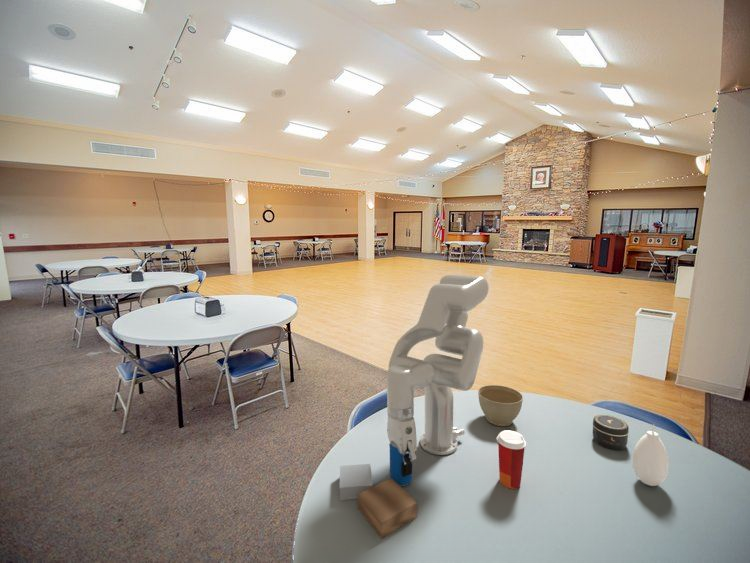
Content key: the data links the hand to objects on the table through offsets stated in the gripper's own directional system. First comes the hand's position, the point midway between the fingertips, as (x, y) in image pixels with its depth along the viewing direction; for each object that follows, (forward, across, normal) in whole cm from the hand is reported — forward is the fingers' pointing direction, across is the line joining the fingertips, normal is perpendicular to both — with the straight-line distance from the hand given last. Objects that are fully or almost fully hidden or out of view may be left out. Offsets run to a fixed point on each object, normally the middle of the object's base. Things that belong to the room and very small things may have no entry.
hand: (400, 466), depth 99 cm
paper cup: (+4, -14, -28) cm, 32 cm away
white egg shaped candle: (+4, -31, -63) cm, 70 cm away
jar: (+4, -14, -73) cm, 74 cm away
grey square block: (+5, +3, +13) cm, 14 cm away
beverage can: (+4, 0, 0) cm, 4 cm away
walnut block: (+4, -9, +9) cm, 13 cm away
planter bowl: (+4, +13, -50) cm, 52 cm away
